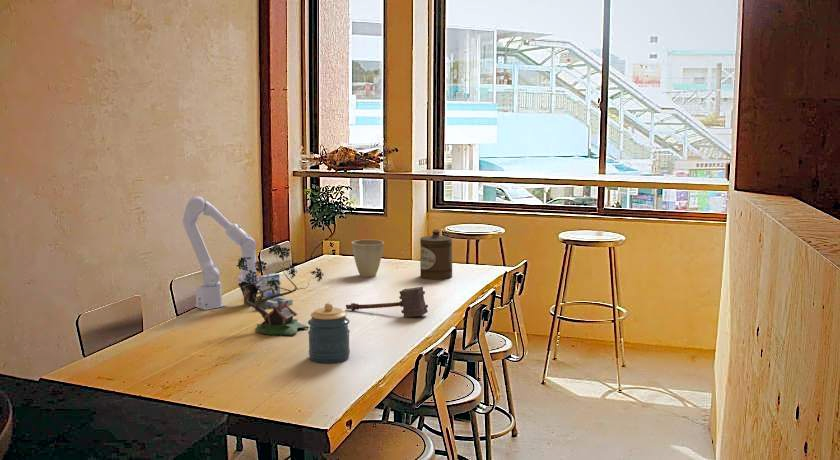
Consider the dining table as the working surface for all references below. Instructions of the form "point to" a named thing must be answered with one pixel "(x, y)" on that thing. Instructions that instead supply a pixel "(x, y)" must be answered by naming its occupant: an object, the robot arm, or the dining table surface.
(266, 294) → the medicine box
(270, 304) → the bore block
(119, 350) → the dining table surface
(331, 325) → the canister
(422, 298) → the hammer
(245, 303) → the block
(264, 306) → the rubber stub
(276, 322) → the bonsai tree
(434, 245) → the wooden container
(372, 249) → the plant pot
